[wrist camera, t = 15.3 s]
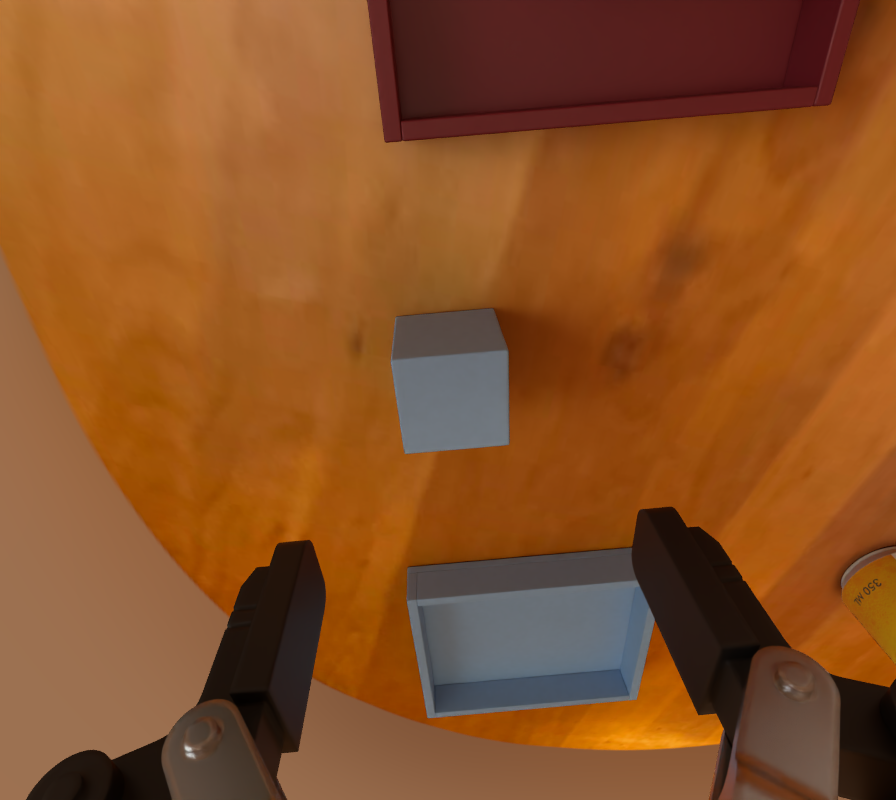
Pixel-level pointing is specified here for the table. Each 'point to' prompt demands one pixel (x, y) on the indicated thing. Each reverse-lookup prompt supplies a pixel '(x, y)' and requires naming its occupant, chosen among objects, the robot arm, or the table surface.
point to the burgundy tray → (598, 61)
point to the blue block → (451, 380)
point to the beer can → (874, 596)
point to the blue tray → (529, 632)
